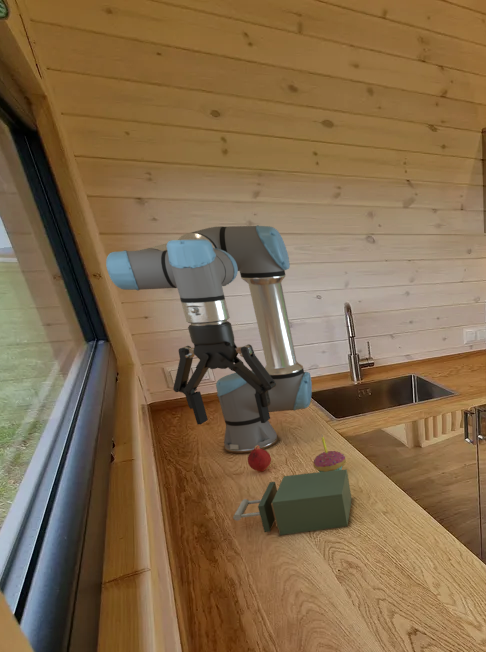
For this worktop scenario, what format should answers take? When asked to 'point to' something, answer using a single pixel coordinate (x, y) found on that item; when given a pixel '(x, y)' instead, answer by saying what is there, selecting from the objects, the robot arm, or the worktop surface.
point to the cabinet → (312, 502)
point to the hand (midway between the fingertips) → (234, 421)
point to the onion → (259, 459)
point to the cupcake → (329, 460)
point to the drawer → (261, 508)
